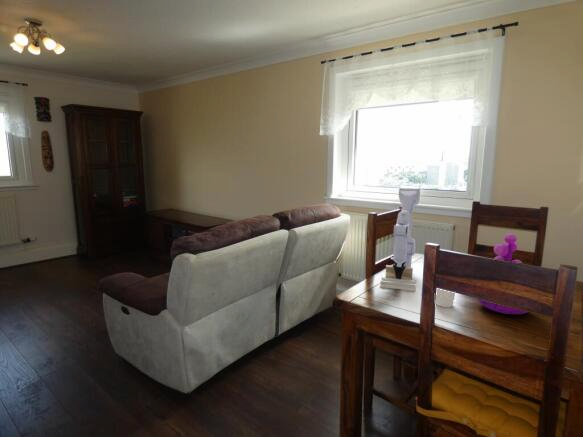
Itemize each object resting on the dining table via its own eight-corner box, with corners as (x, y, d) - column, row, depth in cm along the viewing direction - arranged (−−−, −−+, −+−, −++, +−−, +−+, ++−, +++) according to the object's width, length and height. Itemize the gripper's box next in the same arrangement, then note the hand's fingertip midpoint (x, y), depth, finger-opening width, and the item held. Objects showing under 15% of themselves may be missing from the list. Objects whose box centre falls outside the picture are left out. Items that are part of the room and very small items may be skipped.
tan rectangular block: (385, 278, 165) (386, 265, 164) (411, 281, 161) (412, 267, 160) (385, 280, 163) (386, 266, 162) (411, 283, 159) (412, 269, 158)
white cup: (458, 308, 132) (460, 283, 130) (437, 308, 132) (439, 283, 130) (449, 300, 139) (451, 277, 138) (429, 300, 140) (431, 276, 138)
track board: (381, 281, 161) (381, 276, 160) (415, 285, 156) (415, 280, 155) (380, 286, 154) (380, 281, 154) (415, 291, 149) (415, 285, 149)
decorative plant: (503, 323, 119) (513, 240, 114) (464, 302, 137) (470, 230, 132) (544, 317, 124) (555, 237, 119) (501, 298, 142) (509, 227, 137)
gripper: (392, 245, 167) (390, 271, 170) (390, 252, 154) (389, 281, 156) (407, 246, 165) (405, 273, 167) (407, 253, 152) (405, 282, 154)
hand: (398, 277), depth 162 cm, fingers open, 7 cm apart
